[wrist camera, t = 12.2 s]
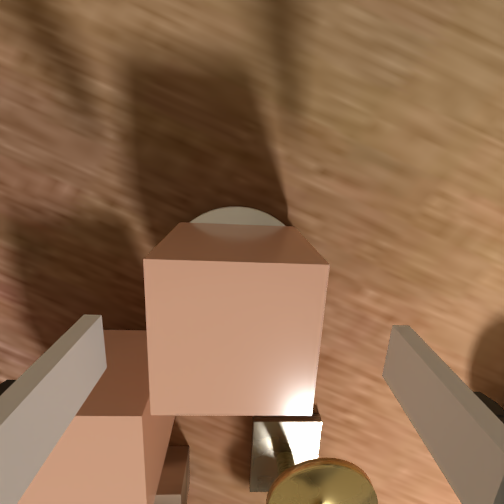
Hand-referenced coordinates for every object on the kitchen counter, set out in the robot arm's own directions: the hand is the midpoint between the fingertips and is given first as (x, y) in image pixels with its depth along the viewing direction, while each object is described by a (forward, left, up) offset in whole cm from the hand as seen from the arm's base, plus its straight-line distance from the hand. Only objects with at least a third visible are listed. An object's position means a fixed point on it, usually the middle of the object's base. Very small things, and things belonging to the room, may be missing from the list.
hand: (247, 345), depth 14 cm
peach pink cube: (0, -1, -10) cm, 10 cm away
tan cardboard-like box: (+9, -10, -11) cm, 17 cm away
